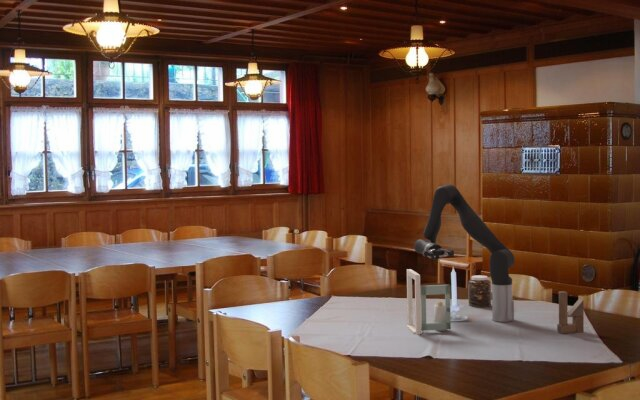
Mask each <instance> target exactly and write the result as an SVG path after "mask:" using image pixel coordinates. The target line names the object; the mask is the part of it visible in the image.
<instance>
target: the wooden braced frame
mask: <svg viewBox="0 0 640 400" xmlns="http://www.w3.org/2000/svg"><path fill="white" fill-rule="evenodd" d="M584 307H585V305H584V299H581V298H578V299H577V300H576V302H575V303H574V304H573V305H572V306H571V308H570V309H569V310H568V292H567V291H566V290H565V291H563V290H562V291H560V290H559V291H558V324H557V325H556V327H557V328H556V329H557V333H559V334H561V335H565V334H576V333H578V334H579V333H584V327H585V325H584V321H585V319H584V316H585V315H584V314H585V312H584ZM568 318H571V319H572V320H571V321H572V323H569V322H568Z"/></svg>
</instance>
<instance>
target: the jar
mask: <svg viewBox="0 0 640 400" xmlns="http://www.w3.org/2000/svg"><path fill="white" fill-rule="evenodd" d="M488 278H489V277H488V276H487V275H481V274H478V275H472V276H471V277H470V279H469V280H468V284H467V285H468V287H467V289H468V290H467V291H468V293H467V294H468V296H467V298H468V300H467V301H468V303H467V304H468V306H470V307H474V308H489V307H492V280H490V279H488Z"/></svg>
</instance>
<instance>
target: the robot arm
mask: <svg viewBox="0 0 640 400" xmlns="http://www.w3.org/2000/svg"><path fill="white" fill-rule="evenodd" d="M449 204H450V205H451V206H452V207H453V208H454V210H455V211H456V212H457V213H458V215H459V220H460V223H461V226H462V228H463V230H465V231H466V233H467V234H468V235H469V236H470V237H471V238H472V239H473V240H474V241H476V242H477V243H479V244H480V245H482V246H483V247H485V248H486V249H487V250H488V251H489V252H490V253H491V254H490V256H489V273H490V274H489V276H490V279H491V308H492V315H491V317H492V321H494V322H500V323H506V322H512V321H513V322H514V321H515V301H514V299H513V278H512V277H511V276H510V275H509V269H510V268H512V267H513V266H514V264H515V256H514V255H515V254H514V253H513V252H512V250H510V249H509V248H508V247H507V246H506V245H505V244H504V243H503V242H502V241H501V240H500V239H498V236H496V234H494V232H493V231H492V230H491V229H490V228H489V227H488V226H487V224H486V223H485V222H484V220H482V218H481V217H480V216H479V215H478V214H477V213H476V211H475V210H474V209H473V207H472V206H471V205H470V204H469V203H468V202H467V201H466V199H465V198H464V196H463V194H462V193H461V192H460V190H459V189H458V188H457V187H456V186H455V185H453V184H444V185H441V186H438V187H437V188H436V189H435V191H434V194H433V198H432V203H431V208H430V213H429V217H428V220H427V222H426V224H425V227H424V230H423V232H422V233H423V234H422V235H423V237H424V238H425V239H421V238H420V239H417V240H416V241H415V242H414V251H415V252H416V253H417V254H421V255H422V256H423V257H425V258H429V259H431V260H434V261H435V260H439V259H441V258H442V257H445V258H446V257H449V258H450V257H451V258H452V257H454V256H455V250H454V249H450V248H449V249H446V248H445V249H444V248H443V247H442V246H441V245H440V244H437V238H438V235H439V232H440V230H441V227H442V213H443V211H444V208H445V207H446V206H447V205H449Z"/></svg>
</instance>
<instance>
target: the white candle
mask: <svg viewBox="0 0 640 400" xmlns="http://www.w3.org/2000/svg"><path fill="white" fill-rule="evenodd" d="M433 309H434V310H433V312H434V313H433V315H434V317H433V318H434V322H433V323H439V322H445V304H443V302H442V301H438V302H437V304H434V306H433ZM435 331H436V332H437V331H438V332H445V331H447V329H444V330H435Z"/></svg>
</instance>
